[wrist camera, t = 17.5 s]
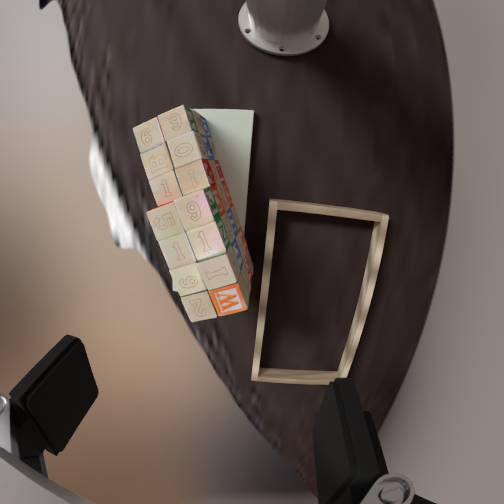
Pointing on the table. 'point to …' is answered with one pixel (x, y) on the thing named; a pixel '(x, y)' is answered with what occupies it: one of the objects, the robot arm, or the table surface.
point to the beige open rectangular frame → (363, 300)
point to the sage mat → (232, 152)
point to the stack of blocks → (195, 215)
